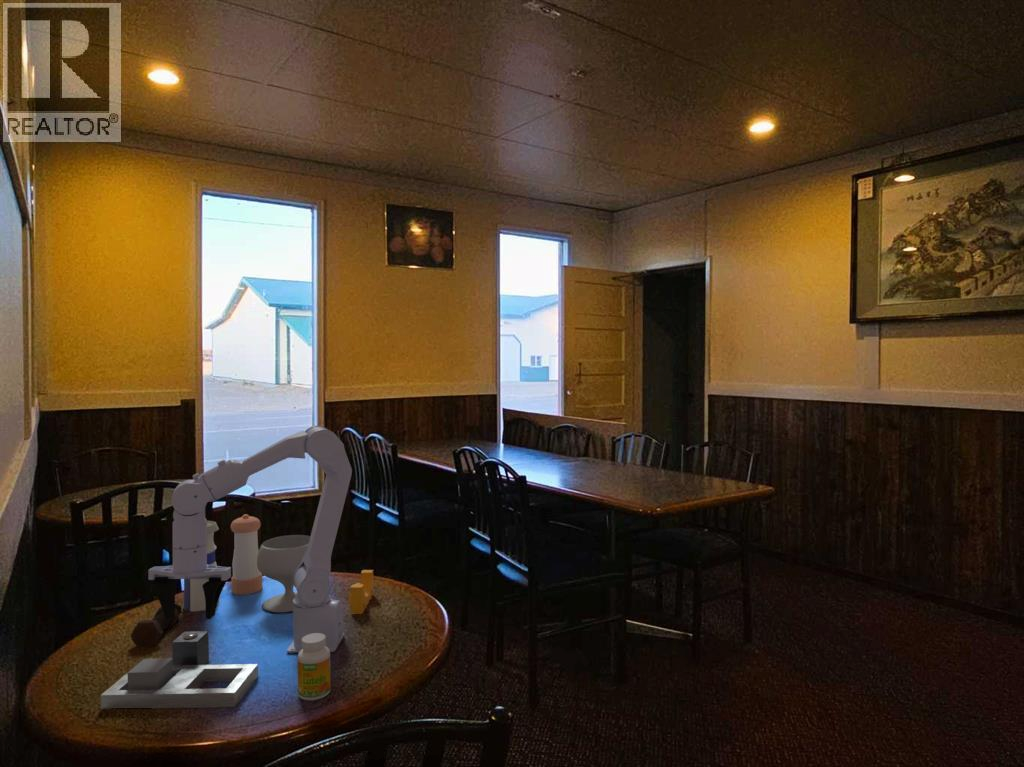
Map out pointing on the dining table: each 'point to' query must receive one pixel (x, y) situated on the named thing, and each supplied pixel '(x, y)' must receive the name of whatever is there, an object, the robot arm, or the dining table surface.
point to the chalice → (282, 567)
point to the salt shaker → (245, 556)
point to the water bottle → (193, 587)
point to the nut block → (191, 648)
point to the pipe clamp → (361, 592)
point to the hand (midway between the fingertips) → (190, 617)
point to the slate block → (150, 674)
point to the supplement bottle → (314, 668)
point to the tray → (186, 688)
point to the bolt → (153, 628)
